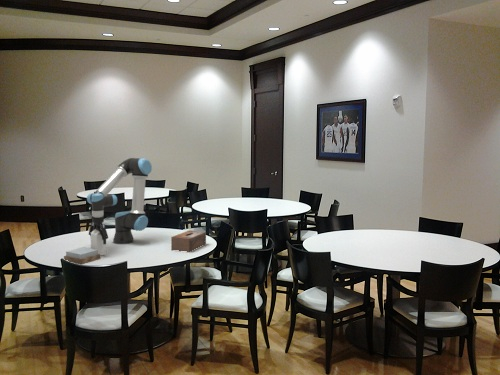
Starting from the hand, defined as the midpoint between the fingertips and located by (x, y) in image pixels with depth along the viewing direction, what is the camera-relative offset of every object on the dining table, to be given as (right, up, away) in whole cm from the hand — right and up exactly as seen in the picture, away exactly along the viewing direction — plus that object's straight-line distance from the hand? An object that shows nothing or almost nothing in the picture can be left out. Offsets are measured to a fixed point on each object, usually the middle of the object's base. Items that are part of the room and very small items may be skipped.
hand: (98, 247), depth 315 cm
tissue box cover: (+59, -4, +25) cm, 64 cm away
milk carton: (0, -6, +1) cm, 6 cm away
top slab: (-7, -4, -12) cm, 14 cm away
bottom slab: (-7, -7, -12) cm, 15 cm away
